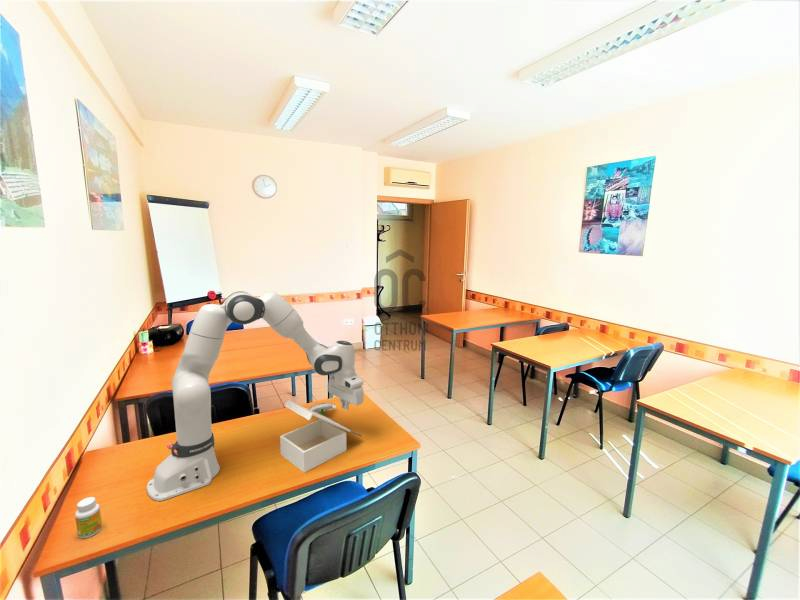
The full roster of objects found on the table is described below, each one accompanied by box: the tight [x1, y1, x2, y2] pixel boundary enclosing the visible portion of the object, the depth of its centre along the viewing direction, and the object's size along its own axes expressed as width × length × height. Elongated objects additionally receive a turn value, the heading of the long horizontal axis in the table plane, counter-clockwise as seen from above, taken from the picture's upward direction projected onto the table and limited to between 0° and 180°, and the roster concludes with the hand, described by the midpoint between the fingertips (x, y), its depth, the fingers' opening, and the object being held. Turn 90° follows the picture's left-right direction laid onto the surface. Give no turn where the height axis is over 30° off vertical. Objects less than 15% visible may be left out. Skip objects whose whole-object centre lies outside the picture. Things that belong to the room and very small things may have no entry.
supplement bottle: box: [74, 496, 103, 539], centre depth 104 cm, size 5×5×10 cm
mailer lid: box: [284, 399, 362, 437], centre depth 147 cm, size 30×17×3 cm
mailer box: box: [279, 419, 348, 473], centre depth 144 cm, size 20×17×8 cm
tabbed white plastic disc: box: [308, 402, 337, 416], centre depth 175 cm, size 15×8×11 cm
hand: (345, 408), depth 155 cm, fingers closed
